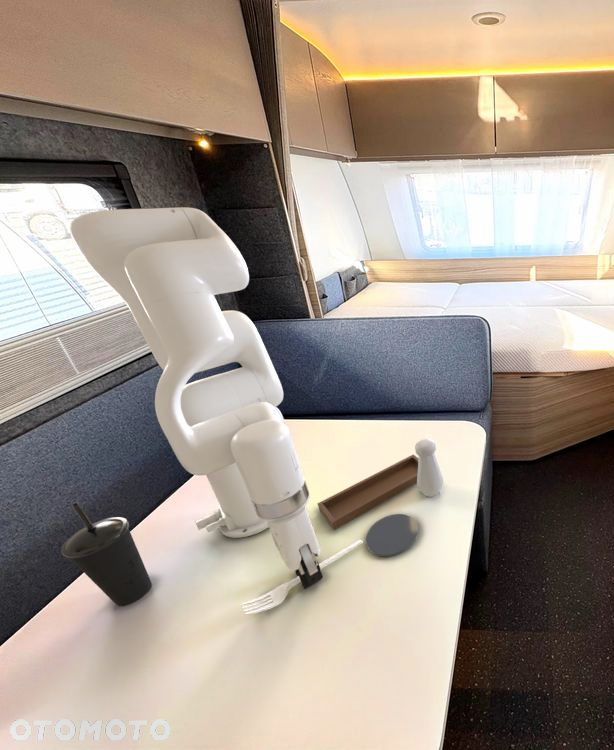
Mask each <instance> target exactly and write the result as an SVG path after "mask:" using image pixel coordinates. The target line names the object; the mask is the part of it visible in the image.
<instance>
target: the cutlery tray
mask: <svg viewBox="0 0 614 750" xmlns="http://www.w3.org/2000/svg"><path fill="white" fill-rule="evenodd" d="M418 458H419V457H417V456H416V455H415V453H414V454H411V455H409V456H407V457H405V458H402V460H399V461H397V462H395V463H393V464H391V465H390V466H388V467H386V468H384V469H382V470H380V471H378V472H376V473H374V474H372V475H370V476H368V477H366V478H365V479H362V480H360V481H359V482H357V483H354V484H352V485H351V486H349V487H347V488H345V489H343V490H341V491H339V492H337V493H335V494H333V495H331V496H329V497H327V498H326V499H323V500H322V501H319V502H317V506H318V507H317V508H318V510H319V512H320V513H321V515H322V516H323V517H324V519H325V521H327V523H328V525H329V526H330V527H331V529H332V530H333V531H335V530H337V529H338V528H340V527H342V526H344V525H346V524H347V523H349V522H351V521H353V520H355V519H356V518H358V517H359V516H361V515H363V514H365V513H366V512H368V511H370V510H372V509H373V508H375V507H378V506H379V505H381V504H382V503H384V502H386V501H388V500H390V499H391V498H393V497H394V496H397V495H399V494H400V493H402V492H403V491H405V490H407V489H409V488H411V487H413V486H414V485H417V474H418Z"/></svg>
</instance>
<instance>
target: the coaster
mask: <svg viewBox="0 0 614 750" xmlns="http://www.w3.org/2000/svg"><path fill="white" fill-rule="evenodd" d="M419 531H420V529H419V525H418V522H417V520H415V518H414V517H412V516H411V515H408V514H404V513H394V514H390V515H386V516H385V517H382V518H380V519H378V520H377V521H375V522H374V524H372V525H371V527H370V528H369V530H368V532H367V533H366V536H365V545H366V548H367V550H368V551H369V552H370V553H371V554H372V555H374V556H376V557H381V558H390V557H394V556H398V555H400V554H402V553H404V552H406V551H408V549H410V548H411V547H412V546H413V545H414V544H415V542H416V541H417V539H418V536H419V533H420V532H419Z"/></svg>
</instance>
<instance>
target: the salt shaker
mask: <svg viewBox="0 0 614 750" xmlns="http://www.w3.org/2000/svg"><path fill="white" fill-rule="evenodd" d="M414 450H415V454H416V455H417V456H418V457H417V458H418V474H417V483H416V486H417V489H418V490H419V491H420V492H421V494H422V495H423V496H424V497H431V498H433V497H435V496H437V495H438V494H440V493H441V490H442V487H443V485H444V478H443V475H442V471H441V469H440V466H439V463H438V461H437V458H436V455H435V452H436V450H437V448H436V442H435V441H434V440H433V439H431V438H423V439H419V440H418V441H417V442H416V443H415V445H414Z"/></svg>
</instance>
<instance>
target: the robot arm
mask: <svg viewBox="0 0 614 750" xmlns="http://www.w3.org/2000/svg"><path fill="white" fill-rule="evenodd" d="M69 231H70V235H71V238H72V241H73V243H74V245H75V246H76V249H77V250H78V252H79V253H80V255H81V256H82V258H83V259H84V261H85V262H86V263H87V264H88V266H89V267H90V268H91V269H92V270H93V271H94V272H95V273H96V274H97V276H99V278H100V279H101V280H102V281H104V282H105V283H106V285H108V286H109V287H110V288H111V289H112V290H113V291H114V292H115V293H116V294H117V295H118V296H119V297H120V298H121V300H123V301H124V303H125V304H126V306H127V307H128V309H129V310H130V312H131V315H132V316H133V318H134V320H135V322H136V324H137V326H138V328H139V331H140V332H141V334H142V336H143V338H144V340H145V342H146V344H147V346H148V347H149V350H150V352H151V353H152V355H153V357H154V359H155V360H156V362H157V364H158V365H159V367H160V368H161V369H162V370H163V371H162V373H161V375H160V377H159V380H158V383H157V384H156V389H155V395H154V410H155V415H156V418H157V421H158V423H159V426H160V428H161V430H162V432H163V434H164V435H165V436H164V437H166V439H167V441H168V443H169V445H170V447H171V449H172V451H173V453H174V455H175V457H176V458H177V460H178V462H179V464H180V465H181V466H182V467H183V469H184V470H185V471H186V472H188V473H189V474H191V475H194V476H201V477H203V476H206V477H207V478H206V479H207V480H208V482H209V483H208V484H209V485H210V486H211V490H212V491H213V495H214V496H215V498H216V500H217V502H218V504H217V506H218V507H217V508H218V509H216V510H214V511H213V513H211V514H210V515H206V516H204V517H202V518H200V519H197V520H195V521H194V522H195V525H196V527H197V530H198V531H201V530H203V529H204V528H205V530H206V532H207V533H210V532H213V531H215V530H216V529H218V528H219V531H220V533H222V535H223V536H225V537H227V538H232V539H233V538H234V539H237V538H241V539H242V538H246V537H250V536H253V535H256V534H259V533H260V532H264V531H265V530H267V529H269V531H270V534H271V537H272V540H273V542H274V544H275V547H276V549H277V551H278V553H279V554H280V555H279V556H280V557H281V559H282V560H283V562H284V564H285V566H286V568H287V570H288V571H289V572H290V573H291V572H292V573H294V572H295V574H296V577H298V576H299V577H300V580H301V582H300V583H301V585H302V588H303V589H304V590H306V589H307V590H308V588H310V587H311V586H313V585H315V584H317V583H318V582H319V581H321V580H322V579H323V578H324V575H323V572H322V569H320V566H319V564H320V563H319V560H317V558H319V557H320V555H321V549H320V545H319V542H318V538H317V535H316V532H315V529H314V526H313V523H312V521H311V517H310V515H309V511H308V509H307V504H308V502H310V498H311V493H310V491H309V488H308V483H307V481H306V478H305V475H304V472H303V469H302V466H301V462H300V459H299V454H298V452H297V450H296V446H295V442H294V439H293V436H292V433H291V431H290V428H289V427H288V425H286V422H285V418H284V416H283V413H282V412H281V410H280V409H279V408H278V406H279V405H280V404H281V403H282V402H283V400H284V390H283V386H282V382H281V380H280V378H279V376H278V373H277V371H276V369H275V367H274V364H273V361H272V360H271V358H270V355H269V353H268V351H267V348H266V346H265V344H264V342H263V339H262V337H261V335H260V333H259V332H258V329H257V327H256V325H255V324H254V323H253V321H252V320H251V319H250V318H249V316H248V315H246V314H245V313H243V312H242V311H238V310H234V309H233V310H223V311H222V310H221V308H220V306H219V303H218V301H217V299H216V295H223V294H228V293H233V292H238V291H242V290H244V289H246V288H247V286H248V285H249V282H250V274H249V268H248V266H247V263H246V261H245V259H244V257H243V255H242V254H241V251H240V250H239V248H238V247H237V245H236V244H235V243H234V242H233V240H232V239H231V238H230V237H229V236H228V235H227V233H225V231H224V230H223V229H222V228H221V227H220V226H218V224H217V223H216V222H215V221H214V220H213V219H212V218H211V217H210V216H209V215H208V214H207V213H205V212H204V211H202V210H200V209H198V208H195V207H187V206H186V207H182V206H181V207H156V208H154V207H153V208H127V209H126V208H123V209H122V208H121V209H107V210H98V211H92V212H88V213H84V214H81V215H79V216H76V218H74V219H73V220H71V222H70V227H69ZM231 363H238V364H239V365H240V366H241V367H239V368H235V369H232V370H228V371H225V372H222V373H218V374H214V375H211V376H208V377H204V378H201V379H199V380H198V379H197V380H195V381H193V382H190V383H189V382H188V381H189V380H190V379H191V378H192V377H193V376H194V375H195V374H197V373H200V372H205V371H208V370H211V369H215V368H219V367H221V366H225V365H228V364H231Z"/></svg>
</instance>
